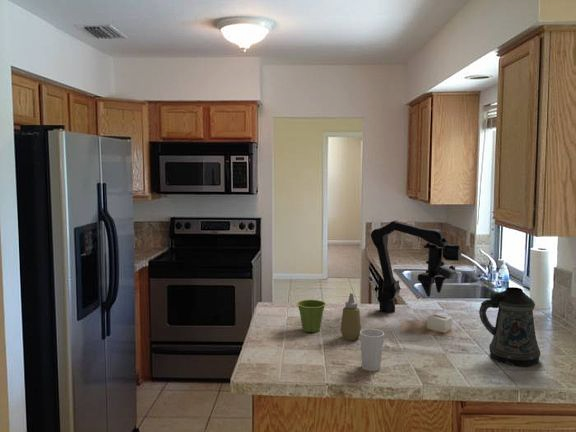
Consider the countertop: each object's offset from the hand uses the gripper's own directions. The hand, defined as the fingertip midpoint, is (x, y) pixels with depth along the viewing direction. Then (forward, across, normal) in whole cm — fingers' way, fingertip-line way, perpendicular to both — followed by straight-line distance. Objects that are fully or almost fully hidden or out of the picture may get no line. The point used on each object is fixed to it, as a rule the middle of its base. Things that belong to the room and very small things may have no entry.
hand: (433, 294), depth 216 cm
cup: (+12, -60, -9) cm, 61 cm away
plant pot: (+12, -45, +30) cm, 56 cm away
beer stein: (+12, -19, -40) cm, 45 cm away
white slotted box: (+10, -11, -9) cm, 18 cm away
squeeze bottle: (+12, -42, +13) cm, 46 cm away
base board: (+12, -14, -4) cm, 19 cm away
